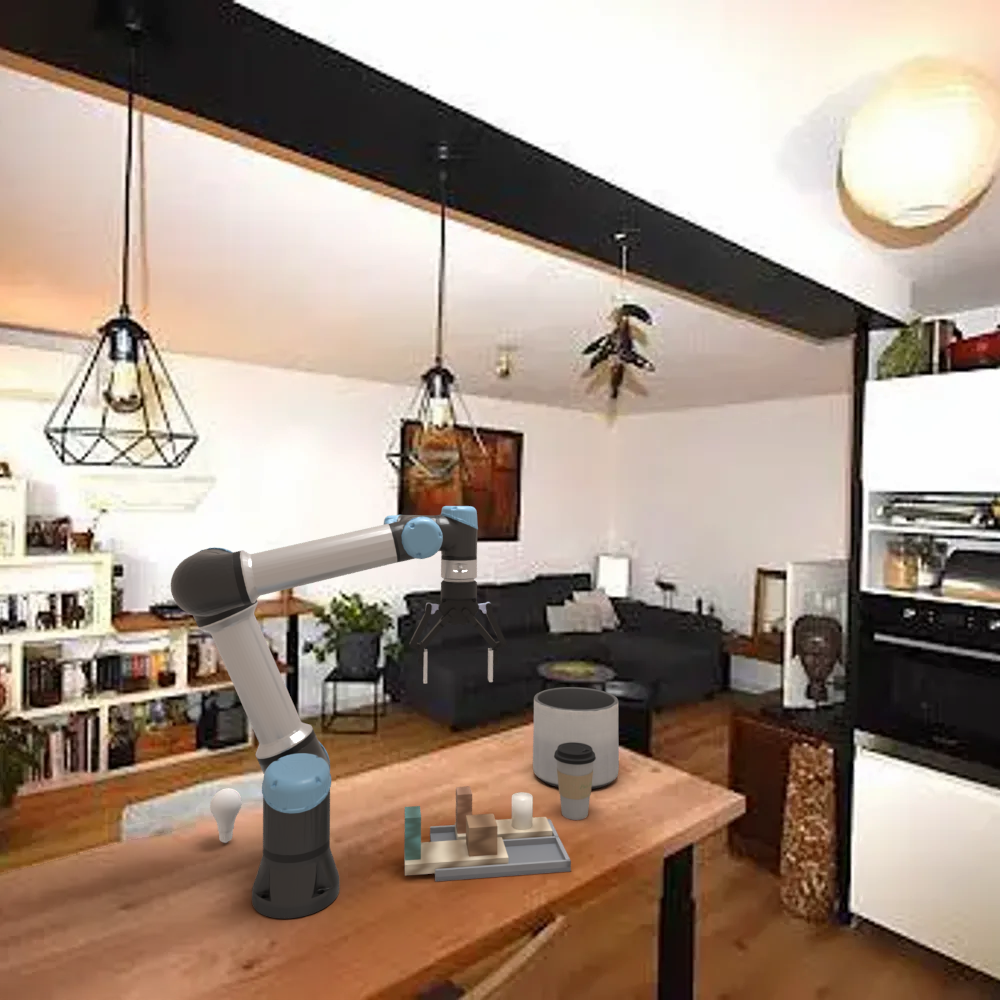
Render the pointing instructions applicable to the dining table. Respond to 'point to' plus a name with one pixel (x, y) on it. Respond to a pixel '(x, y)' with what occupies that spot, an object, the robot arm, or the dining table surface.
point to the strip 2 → (504, 826)
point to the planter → (576, 730)
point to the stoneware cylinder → (522, 811)
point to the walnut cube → (481, 835)
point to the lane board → (510, 857)
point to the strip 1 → (440, 850)
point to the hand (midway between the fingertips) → (457, 681)
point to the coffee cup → (574, 778)
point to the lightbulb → (225, 811)
